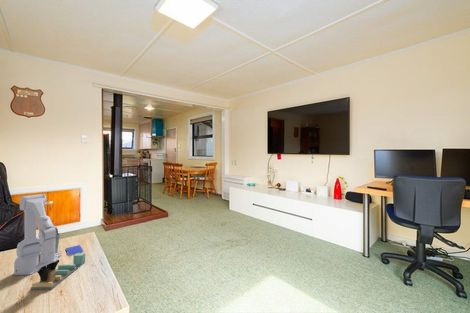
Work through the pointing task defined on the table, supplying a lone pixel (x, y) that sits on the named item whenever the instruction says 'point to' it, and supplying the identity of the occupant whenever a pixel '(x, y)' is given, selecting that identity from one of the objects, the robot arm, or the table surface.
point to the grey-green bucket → (57, 243)
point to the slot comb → (60, 275)
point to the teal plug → (79, 259)
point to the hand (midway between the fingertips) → (47, 278)
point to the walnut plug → (50, 276)
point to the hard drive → (74, 250)
